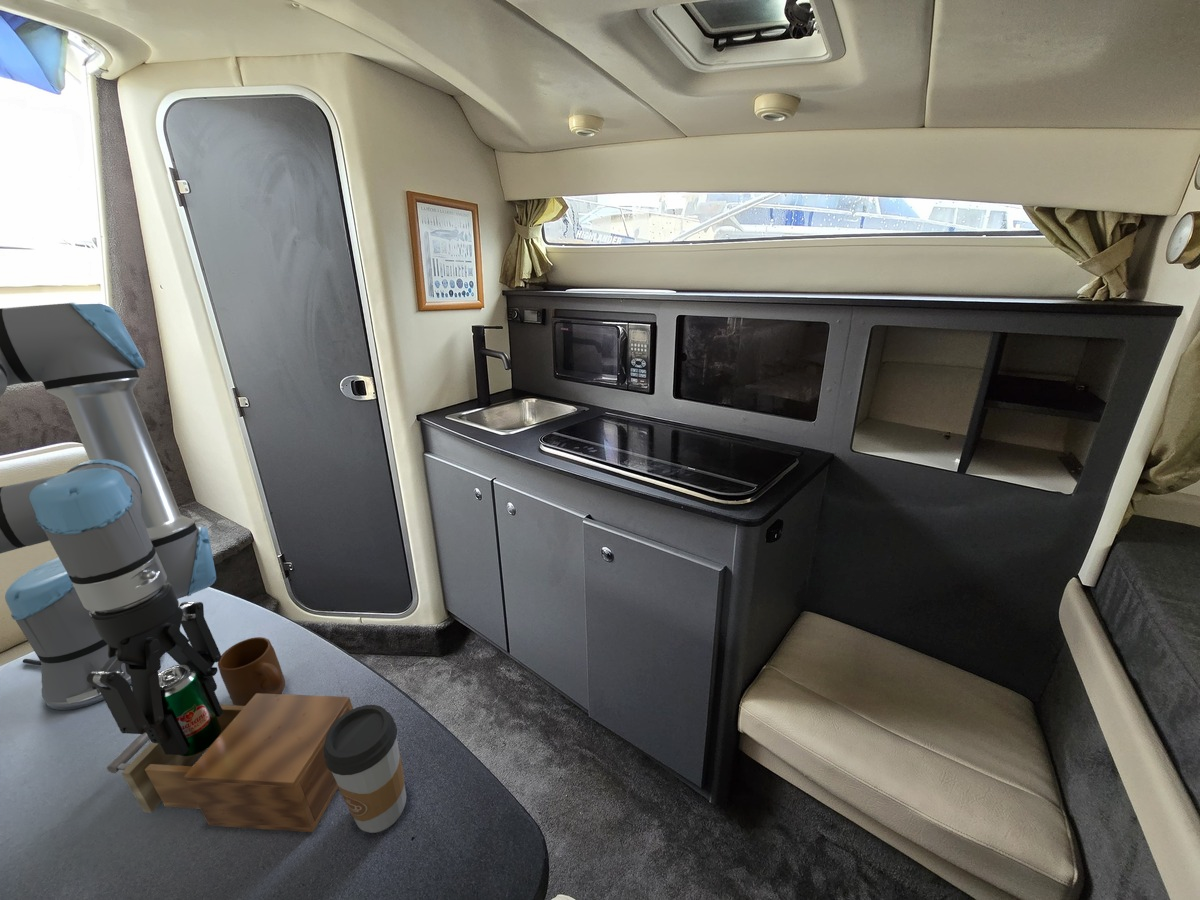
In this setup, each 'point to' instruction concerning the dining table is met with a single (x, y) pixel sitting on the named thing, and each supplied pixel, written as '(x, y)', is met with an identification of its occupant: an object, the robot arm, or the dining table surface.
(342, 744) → the coffee cup
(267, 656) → the mug
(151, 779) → the drawer
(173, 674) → the soda can
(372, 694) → the dining table surface
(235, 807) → the cabinet
